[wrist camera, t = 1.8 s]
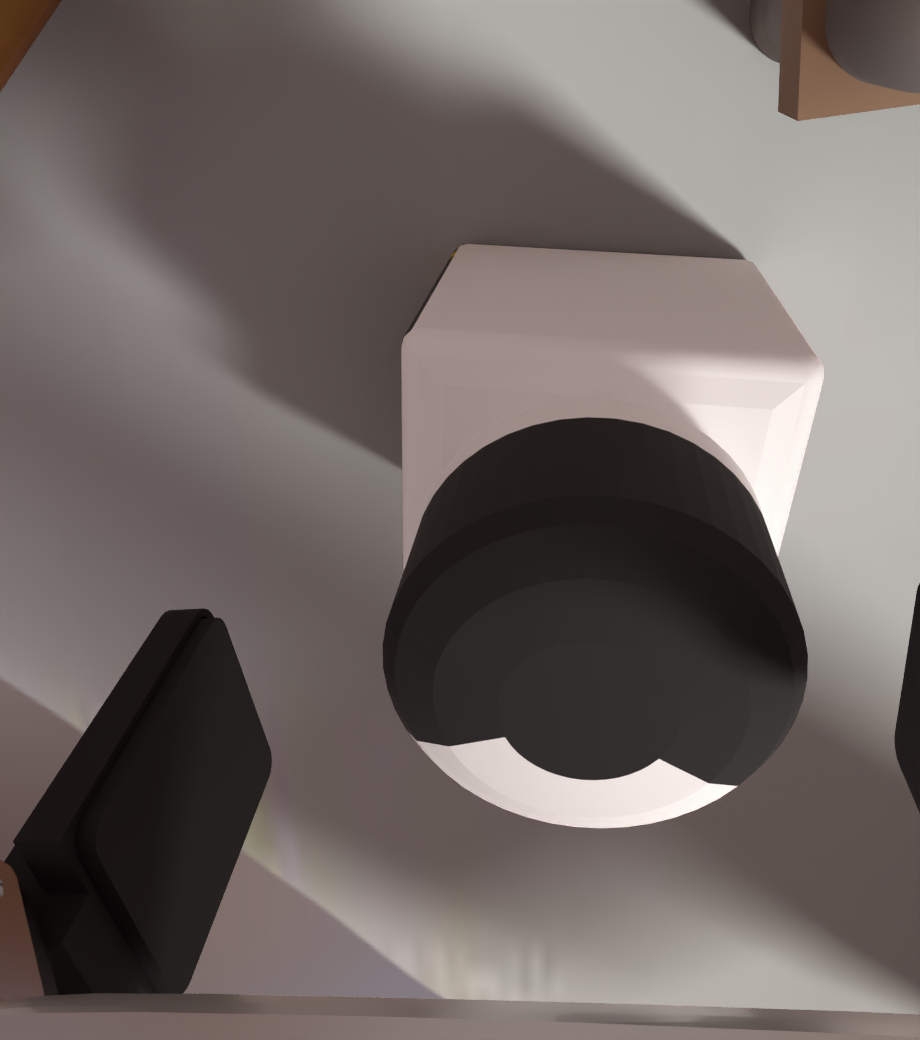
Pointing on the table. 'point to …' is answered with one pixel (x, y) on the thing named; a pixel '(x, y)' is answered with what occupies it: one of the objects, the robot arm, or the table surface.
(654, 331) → the medicine bottle
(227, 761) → the robot arm
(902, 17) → the shelf stand
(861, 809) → the table surface
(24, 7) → the diary
